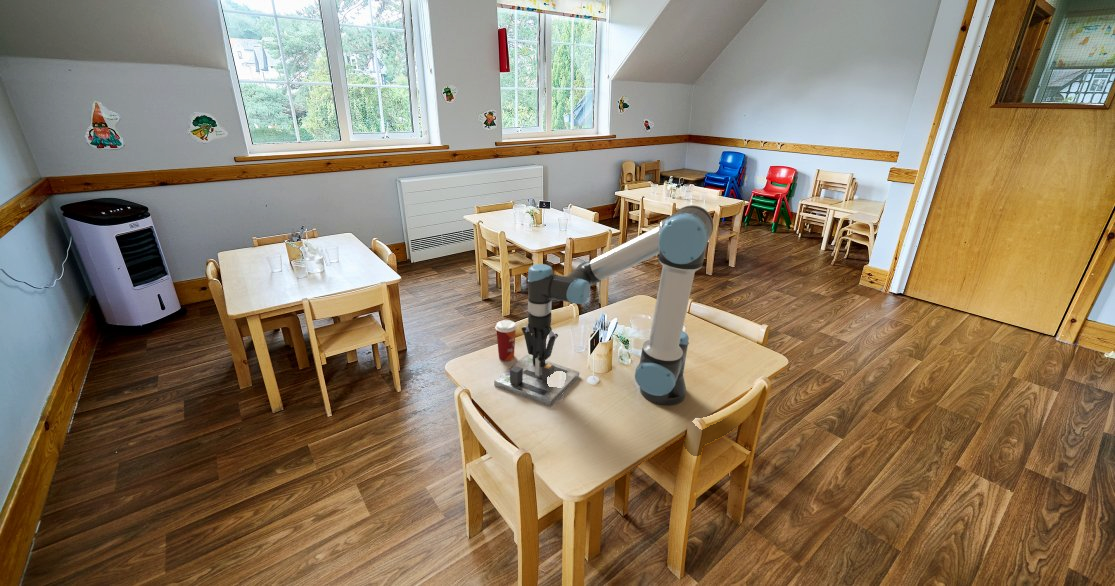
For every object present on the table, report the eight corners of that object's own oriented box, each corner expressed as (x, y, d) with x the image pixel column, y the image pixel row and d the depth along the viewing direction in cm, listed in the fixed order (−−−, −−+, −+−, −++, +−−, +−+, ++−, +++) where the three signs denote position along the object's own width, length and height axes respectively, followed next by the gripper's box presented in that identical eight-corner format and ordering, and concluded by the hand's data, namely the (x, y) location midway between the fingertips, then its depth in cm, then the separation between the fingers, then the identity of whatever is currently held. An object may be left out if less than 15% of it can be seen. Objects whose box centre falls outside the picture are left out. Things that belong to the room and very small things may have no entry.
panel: (579, 376, 166) (579, 371, 165) (550, 406, 150) (550, 401, 149) (526, 358, 175) (526, 354, 174) (494, 385, 159) (494, 380, 158)
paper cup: (515, 363, 172) (515, 329, 167) (494, 362, 172) (493, 328, 167) (517, 352, 180) (517, 319, 174) (497, 351, 180) (496, 318, 174)
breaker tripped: (553, 378, 160) (554, 365, 158) (549, 382, 158) (549, 369, 156) (546, 375, 162) (546, 362, 159) (541, 379, 159) (542, 366, 157)
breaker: (522, 381, 158) (522, 368, 156) (517, 385, 156) (517, 372, 154) (515, 378, 160) (515, 365, 158) (510, 382, 157) (509, 369, 155)
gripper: (563, 312, 151) (561, 374, 161) (529, 302, 157) (529, 363, 167) (551, 321, 145) (550, 384, 155) (516, 311, 151) (517, 373, 161)
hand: (539, 373), depth 161 cm, fingers closed
